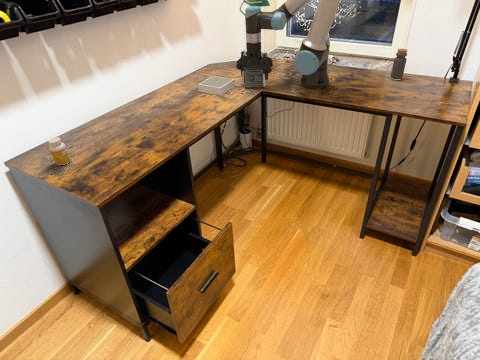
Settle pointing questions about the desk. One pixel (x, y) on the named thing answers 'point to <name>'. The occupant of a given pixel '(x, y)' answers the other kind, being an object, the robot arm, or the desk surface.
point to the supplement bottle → (59, 151)
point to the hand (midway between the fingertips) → (254, 84)
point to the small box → (253, 77)
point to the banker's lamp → (251, 1)
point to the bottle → (399, 64)
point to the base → (216, 85)
